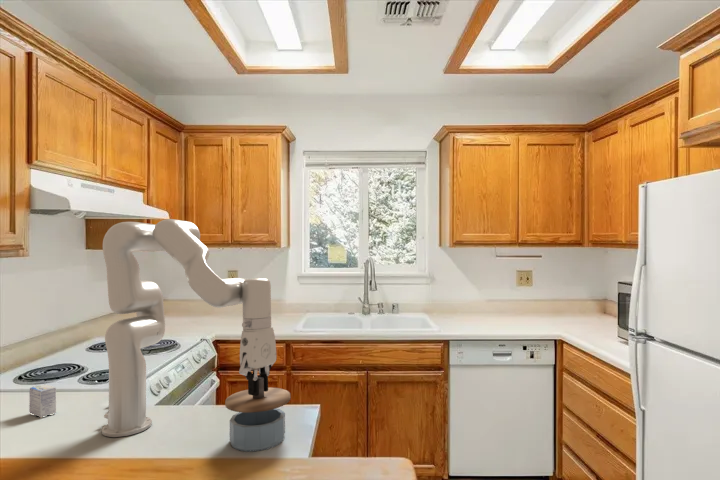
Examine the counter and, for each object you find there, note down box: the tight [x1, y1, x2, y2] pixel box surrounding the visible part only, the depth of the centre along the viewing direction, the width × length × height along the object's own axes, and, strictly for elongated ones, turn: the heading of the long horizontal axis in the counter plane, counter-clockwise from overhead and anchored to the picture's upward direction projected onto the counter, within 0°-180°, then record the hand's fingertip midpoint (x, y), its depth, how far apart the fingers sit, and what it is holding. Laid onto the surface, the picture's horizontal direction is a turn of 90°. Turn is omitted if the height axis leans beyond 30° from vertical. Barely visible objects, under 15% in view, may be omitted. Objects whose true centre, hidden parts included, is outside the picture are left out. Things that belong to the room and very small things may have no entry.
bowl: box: [229, 408, 286, 452], centre depth 111 cm, size 14×14×6 cm
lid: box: [224, 376, 291, 413], centre depth 111 cm, size 17×17×6 cm
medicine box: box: [28, 384, 57, 418], centre depth 134 cm, size 8×4×9 cm, turn 59°
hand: (258, 392), depth 111 cm, fingers closed on lid, 3 cm apart
